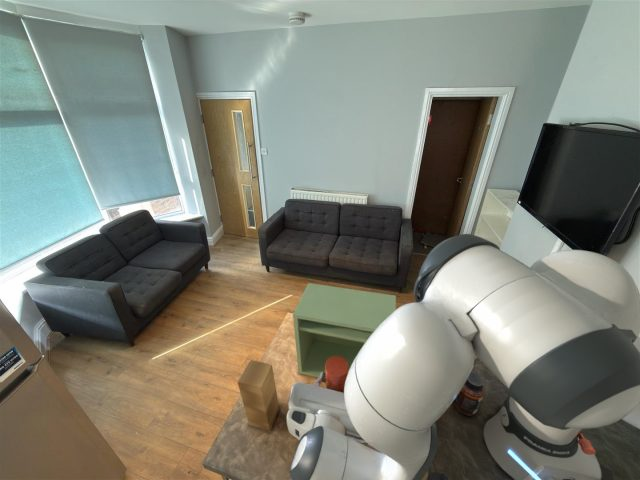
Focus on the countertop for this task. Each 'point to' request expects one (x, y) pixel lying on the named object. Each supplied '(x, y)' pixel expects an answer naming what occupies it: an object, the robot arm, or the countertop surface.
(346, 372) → the red tall cylinder
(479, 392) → the supplement bottle
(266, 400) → the plinth
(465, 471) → the countertop surface
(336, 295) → the cupboard
